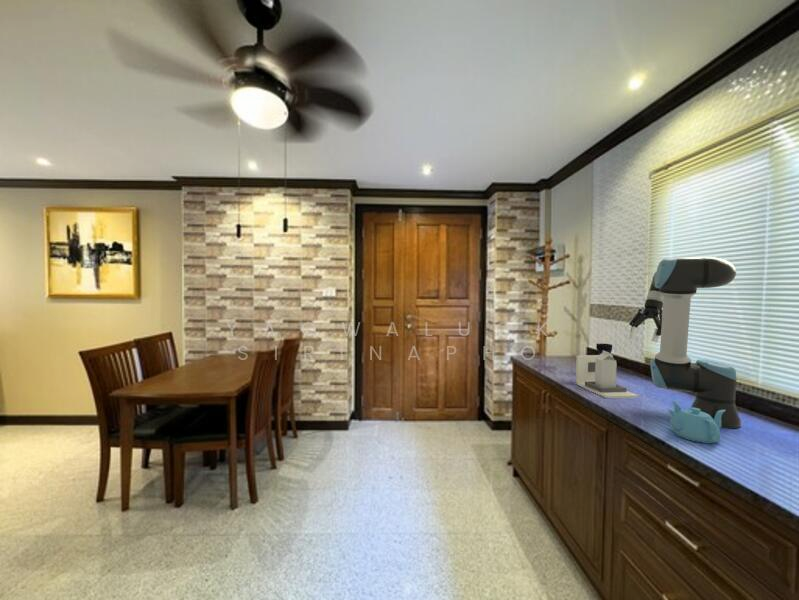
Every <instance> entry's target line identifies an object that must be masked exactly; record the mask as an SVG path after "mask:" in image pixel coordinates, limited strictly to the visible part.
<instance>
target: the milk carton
mask: <svg viewBox="0 0 799 600" xmlns="http://www.w3.org/2000/svg"><path fill="white" fill-rule="evenodd" d="M598 355H599V354H598ZM616 384H617V360H616V359H615V358H614V356H613V354H612V353H611V354H609V352H606V351H603V353H601V354H600V355H599V356H597V357H596V362H595V385H597V386H600V387H602V388H611V387H616Z"/></svg>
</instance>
